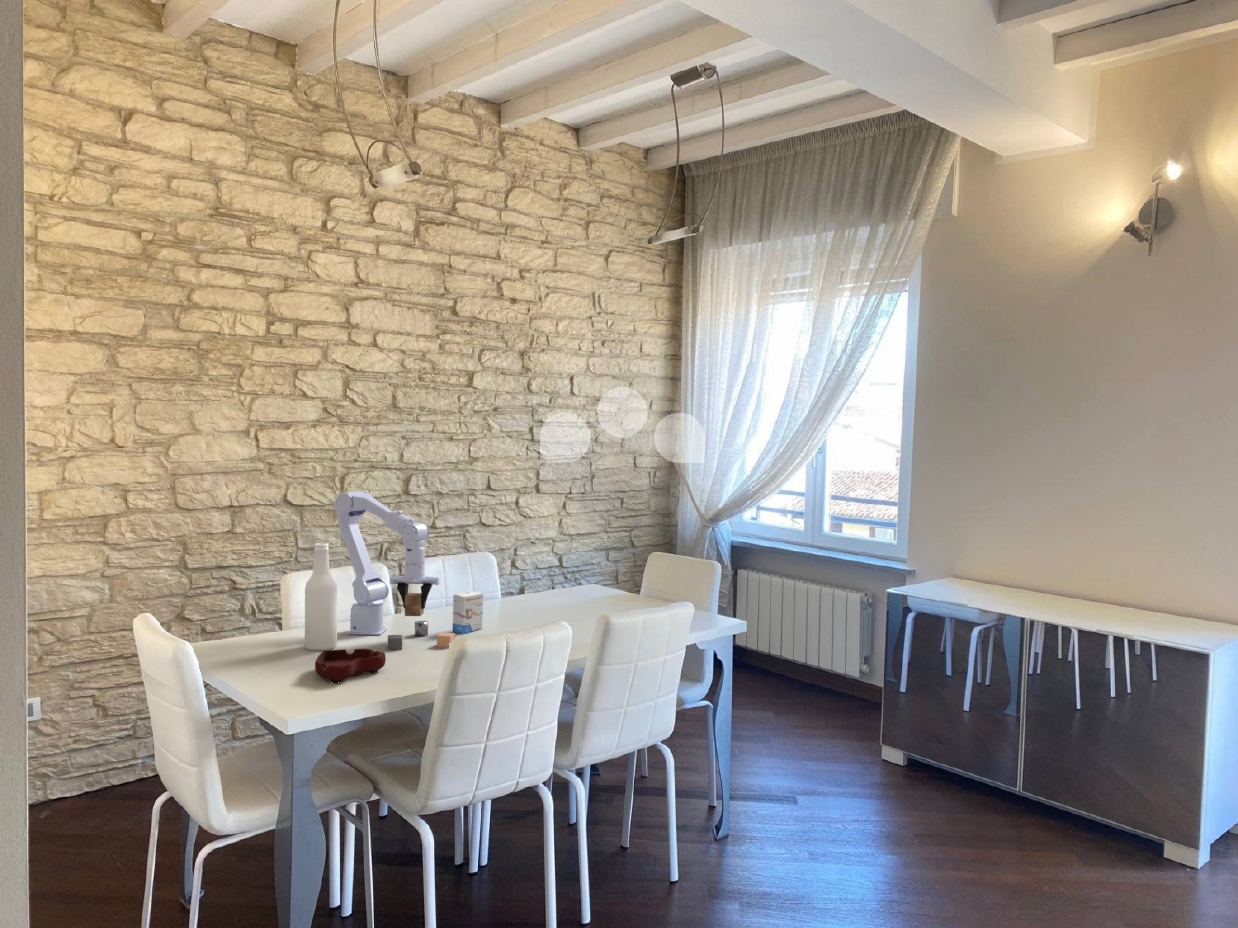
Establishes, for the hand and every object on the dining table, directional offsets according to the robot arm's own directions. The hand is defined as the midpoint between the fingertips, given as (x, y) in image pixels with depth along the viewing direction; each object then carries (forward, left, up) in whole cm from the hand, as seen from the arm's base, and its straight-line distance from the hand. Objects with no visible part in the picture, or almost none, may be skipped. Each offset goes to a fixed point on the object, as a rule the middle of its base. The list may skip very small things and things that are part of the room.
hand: (414, 607), depth 266 cm
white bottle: (-24, -12, -10) cm, 28 cm away
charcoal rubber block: (-3, -11, -10) cm, 15 cm away
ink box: (+14, +12, -10) cm, 21 cm away
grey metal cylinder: (+1, +5, -10) cm, 11 cm away
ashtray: (-10, -37, -10) cm, 39 cm away
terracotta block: (+11, -7, -10) cm, 16 cm away
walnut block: (0, 0, -2) cm, 2 cm away
